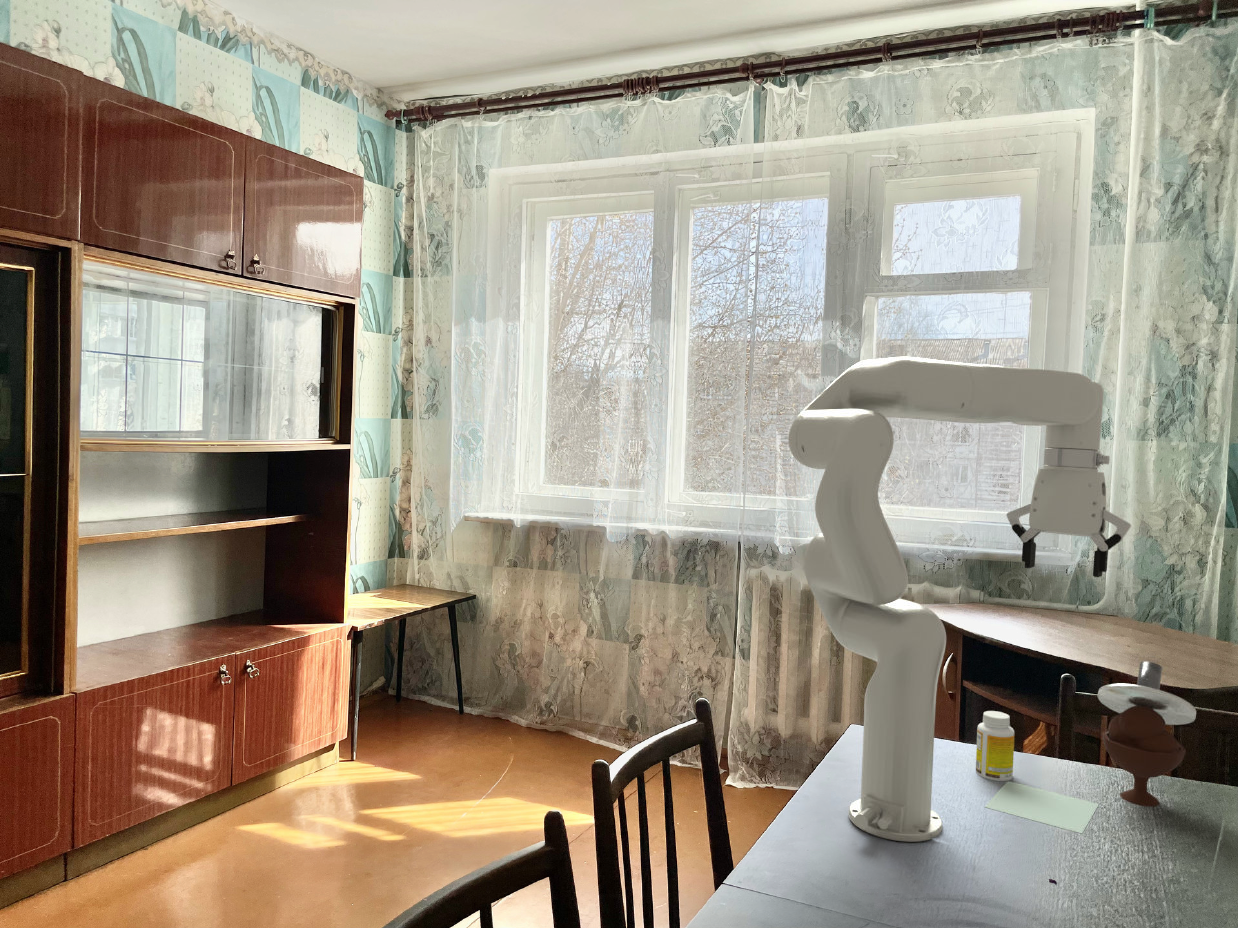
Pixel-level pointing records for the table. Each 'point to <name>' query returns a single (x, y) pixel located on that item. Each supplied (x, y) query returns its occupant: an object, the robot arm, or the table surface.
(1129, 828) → the table surface
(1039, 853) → the table surface
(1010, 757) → the supplement bottle
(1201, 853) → the table surface
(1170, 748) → the ice cream bowl
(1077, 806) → the mat
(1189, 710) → the lid
